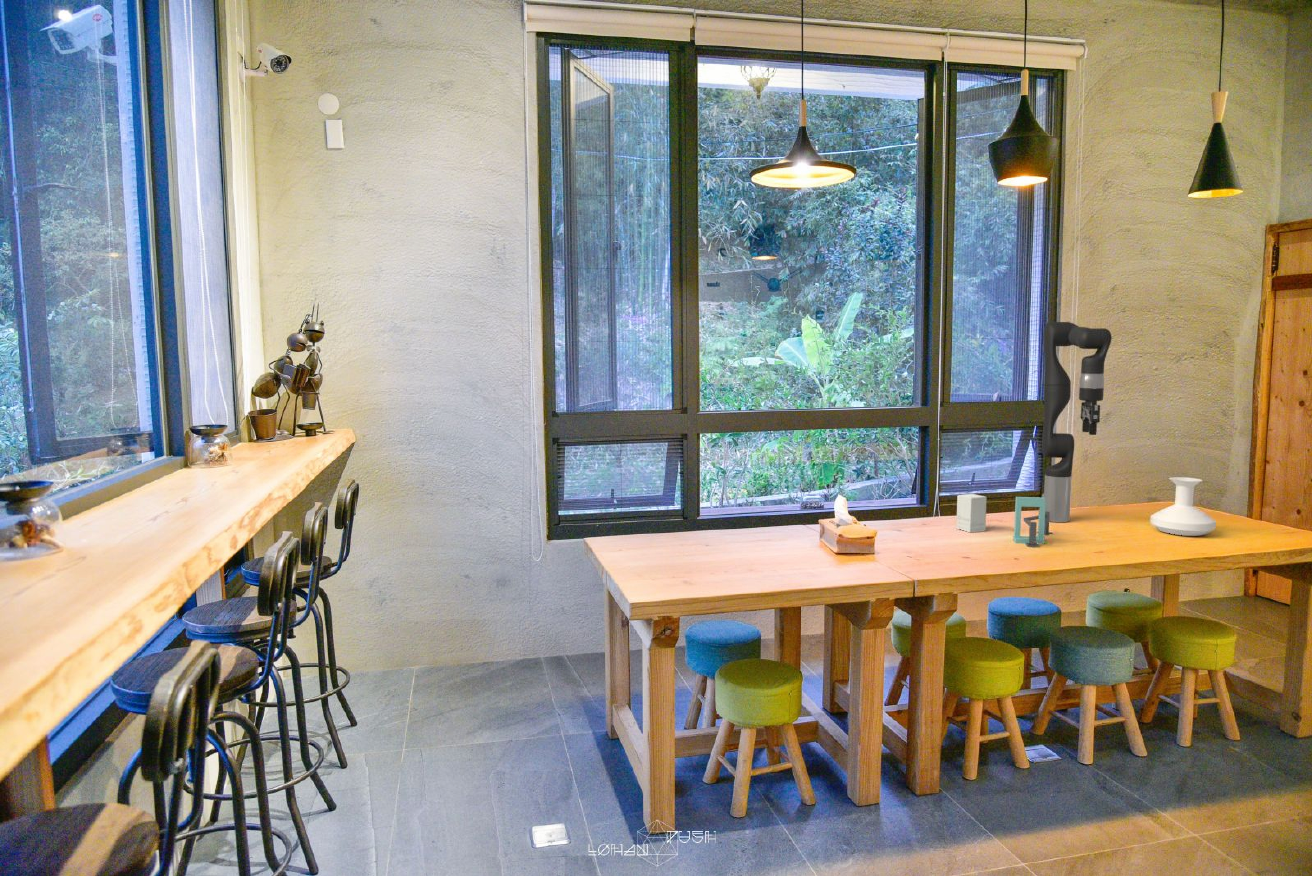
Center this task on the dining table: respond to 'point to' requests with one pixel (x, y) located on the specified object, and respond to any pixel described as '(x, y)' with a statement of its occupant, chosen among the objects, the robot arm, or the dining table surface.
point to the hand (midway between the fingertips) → (1089, 433)
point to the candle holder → (1183, 512)
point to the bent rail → (1033, 529)
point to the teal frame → (1041, 504)
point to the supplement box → (971, 513)
